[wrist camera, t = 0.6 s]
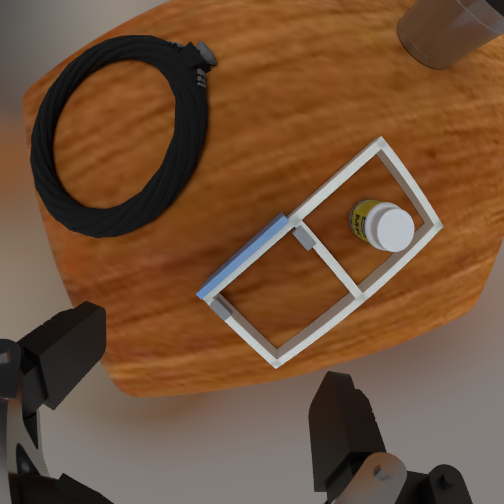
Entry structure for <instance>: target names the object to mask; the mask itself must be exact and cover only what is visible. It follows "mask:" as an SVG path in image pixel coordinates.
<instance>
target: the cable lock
mask: <svg viewBox="0 0 504 504" xmlns="http://www.w3.org/2000/svg"><path fill="white" fill-rule="evenodd" d="M126 58H132V59H139V60H142V61H145V62H148V63H150V64H153V65H154V66H156V67H157V68H158V69H159V70H160V71H161V72H162V73H163V75H164V76H165V77H166V78H167V80H168V82H169V84H170V87H171V89H172V92H173V94H174V96H175V100H176V105H175V130H174V135H173V138H172V140H171V143H170V145H169V148H168V150H167V153H166V155H165V158H164V160H163V163H162V165H161V167H160V168H159V170H158V171H157V172H156V173H155V174H154V176H153V177H152V178H151V180H150V181H149V182H148V183H147V185H146V186H145V187H144V188H143V190H142V191H141V192H140V193H138V194H137V195H135V196H134V197H132V198H130V199H129V200H127V201H126V202H124V203H123V204H121V205H119V206H116V207H112V208H108V209H103V210H102V209H94V208H85V207H83V206H82V205H80V204H78V203H77V202H75V201H73V200H72V199H71V198H70V197H69V196H68V195H67V194H66V193H65V191H64V190H63V189H62V187H61V186H60V184H59V182H58V179H57V177H56V174H55V172H54V168H53V160H52V135H53V132H54V127H55V123H56V119H57V116H58V113H59V111H60V110H61V108H62V106H63V104H64V103H65V101H66V99H67V97H68V96H69V94H70V93H71V91H72V90H73V89H74V88H75V87H76V86H77V85H78V84H79V83H80V82H81V81H82V80H83V79H84V78H85V77H86V76H87V75H88V74H90V73H91V72H92V71H93V70H95V69H96V68H98V67H100V66H102V65H105V64H107V63H110V62H113V61H116V60H121V59H126ZM209 64H211V65H216V58H215V57H214V55H213V53H212V52H211V50H210V49H209V48H208V46H207V45H206V44H205V43H203V42H201V41H199V42H198V45H197V47H195V46H194V45H193V44H192V42H191V41H190V42H189V43H188V44H187V45H186V46H183V45H181V44H178V43H175V42H171V41H165V40H162V39H159V38H157V37H154V36H151V35H128V36H119V37H115V38H111V39H108V40H105V41H103V42H101V43H99V44H97V45H95V46H93V47H91V48H90V49H88V50H86V51H85V52H84V53H83V54H81V55H80V56H78V57H77V58H76V59H74V60H73V61H72V62H71V63H69V64H68V65H67V66H66V68H65V69H64V70H63V72H62V73H61V74H60V75H59V77H58V78H57V79H56V81H55V82H54V83H53V84H52V86H51V87H50V88H49V90H48V92H47V94H46V96H45V97H44V99H43V102H42V104H41V106H40V108H39V111H38V115H37V117H36V121H35V124H34V128H33V132H32V135H31V156H30V162H31V167H32V172H33V176H34V181H35V187H36V189H37V191H38V193H39V195H40V197H41V199H42V201H43V202H44V204H45V206H46V208H47V210H48V211H49V213H50V214H51V215H52V216H53V217H54V218H55V219H56V220H57V221H59V222H61V223H62V224H63V225H64V226H65V227H66V228H68V229H69V230H71V231H74V232H78V233H81V234H84V235H86V236H91V237H95V238H101V237H116V236H119V235H122V234H125V233H128V232H131V231H133V230H135V229H137V228H139V227H141V226H143V225H145V224H147V223H149V222H151V221H153V220H154V219H155V218H156V217H157V216H158V215H159V214H160V213H161V212H162V211H163V210H164V209H165V208H167V207H168V206H169V205H170V204H171V203H172V202H173V200H174V199H175V198H176V196H177V195H178V193H179V192H180V191H181V189H182V188H183V187H184V185H185V183H186V181H187V180H188V178H189V176H190V175H191V173H192V171H193V170H194V168H195V167H196V164H197V160H198V157H199V153H200V149H201V146H202V144H203V141H204V136H205V131H206V127H207V111H208V104H207V99H206V94H205V92H206V75H205V73H207V72H209V71H211V70H210V68H209V66H208V65H209Z"/></svg>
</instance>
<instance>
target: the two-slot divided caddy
mask: <svg viewBox="0 0 504 504" xmlns="http://www.w3.org/2000/svg"><path fill="white" fill-rule="evenodd" d="M375 154H376V155H377V156H378V157H379V158H380V160H381V161H382V162H383V164H384V165H385V166H386V168H387V169H388V170H389V171H390V173H391V174H392V175H393V177H394V178H395V180H396V181H397V182H398V184H399V185H400V187H401V188H402V189H403V191H404V192H405V194H406V195H407V197H408V198H409V199H410V201H411V202H412V204H413V205H414V207H415V208H416V210H417V212H418V213H419V215H420V216H421V218H422V219H423V221H424V224H423V225H422V226H421V227H420V228H419V229H418V230H417V231H416V232H415V233H414V235H413V239H412V241H411V242H410V244H409V245H408V246H407V247H406V248H405V249H403V250H401V251H399V252H394V253H393V254H392V255H391V256H390V257H389V258H388V259H387V260H386V261H384V262H383V263H382V264H381V265H380V266H379V267H378V268H377V269H376V270H375V271H373V272H372V273H371V274H370V275H369V276H368V277H367V278H365V279H364V280H363V281H362V282H361V283H360V284H359V285H357V286H356V284H355V283H354V282H353V281H352V279H351V278H350V277H349V276H348V274H347V273H346V272H345V271H344V270H343V268H342V267H341V266H340V265H339V263H338V262H337V261H336V260H335V259H334V257H333V256H332V255H331V254H330V253H329V251H328V250H327V249H326V248H325V247H324V245H323V244H322V243H321V242H320V241H319V240H318V238H317V237H316V236H315V235H314V234H313V233H312V231H311V230H310V229H309V228H308V227H307V226H306V225H305V223H304V222H303V221H302V219H303V218H304V217H305V216H307V215H308V214H309V213H310V212H311V211H312V210H313V209H314V208H316V207H317V206H318V205H319V204H320V203H321V202H322V201H323V200H325V199H326V198H327V197H328V196H329V195H330V194H331V193H332V192H334V191H335V190H336V189H337V188H338V187H339V186H340V185H341V184H343V183H344V182H345V181H346V180H347V179H348V178H349V177H350V176H351V175H353V174H354V173H355V172H356V171H357V170H358V169H359V168H360V167H362V166H363V165H364V164H365V163H366V162H367V161H368V160H369V159H370V158H372V157H373V156H374V155H375ZM294 226H295V228H296V229H295V230H294V231H293V232H292V233H293V235H294V236H295V237H296V238H297V239H298V240H299V241H300V243H301V244H302V245H303V246H304V247H305V248H306V249H307V251H309V250H310V249H311V248H312V247H313V248H314V249H315V251H316V252H317V253H318V254H319V255H320V256H321V258H322V259H323V260H324V261H325V262H326V263H327V265H328V266H329V267H330V268H331V269H332V271H333V272H334V273H335V274H336V275H337V277H338V278H339V279H340V280H341V281H342V283H343V284H344V285H345V286H346V287H347V289H348V290H349V291H350V292H349V293H348V294H347V295H346V296H344V297H343V298H342V299H341V300H340V301H338V302H337V303H336V304H335V305H334V306H332V307H331V308H330V309H329V310H327V311H326V312H325V313H324V314H322V315H321V316H320V317H319V318H317V319H316V320H315V321H314V322H312V323H311V324H310V325H308V326H307V327H306V328H305V329H303V330H302V331H301V332H299V333H298V334H297V335H295V336H294V337H293V338H291V339H290V340H289V341H287V342H286V343H285V344H283V345H282V346H280V347H279V348H278V349H276V348H275V347H274V346H273V345H272V344H270V343H269V342H268V341H267V340H266V339H265V338H264V337H263V336H262V335H261V334H260V333H259V332H258V331H257V330H256V329H255V328H254V327H253V326H252V325H251V324H250V323H249V322H248V321H247V320H246V319H245V318H244V317H243V316H242V315H241V314H240V313H239V312H238V311H237V310H236V309H235V308H234V307H233V306H232V305H231V304H230V303H229V302H228V301H227V300H226V299H225V298H224V297H223V296H222V295H221V294H220V293H219V292H220V291H221V290H222V289H223V288H224V287H226V286H227V285H228V284H229V283H230V282H231V281H233V280H234V279H235V278H236V277H237V276H238V275H239V274H241V273H242V272H243V271H244V270H245V269H246V268H247V267H249V266H250V265H251V264H252V263H253V262H254V261H255V260H257V259H258V258H259V257H260V256H261V255H262V254H263V253H265V252H266V251H267V250H268V249H269V248H270V247H271V246H273V245H274V244H275V243H276V242H277V241H278V240H279V239H280V238H282V237H283V236H284V235H285V234H286V233H287V232H288V231H290V230H291V229H292V228H293V227H294ZM442 227H443V225H442V223H441V222H440V220H439V218H438V217H437V215H436V213H435V212H434V210H433V208H432V207H431V205H430V203H429V202H428V200H427V199H426V197H425V196H424V194H423V192H422V191H421V189H420V188H419V186H418V185H417V183H416V182H415V180H414V179H413V178H412V176H411V175H410V173H409V172H408V170H407V169H406V168H405V166H404V165H403V164H402V162H401V161H400V159H399V158H398V157H397V155H396V154H395V153H394V152H393V150H392V149H391V148H390V146H389V145H388V144H387V143H386V141H385V140H384V139H383V138H382V136H381V137H379V138H376V139H374V140H373V141H372V142H371V143H370V144H368V145H367V146H366V147H365V148H364V149H363V150H362V151H360V152H359V153H358V154H357V155H356V156H355V157H354V158H353V159H351V160H350V161H349V162H348V163H347V164H346V165H345V166H343V167H342V168H341V169H340V170H339V171H338V172H337V173H336V174H334V175H333V176H332V177H331V178H330V179H329V180H328V181H327V182H325V183H324V184H323V185H322V186H321V187H320V188H319V189H317V190H316V191H315V192H314V193H313V194H312V195H311V196H310V197H308V198H307V199H306V200H305V201H304V202H303V203H302V204H301V205H299V206H298V207H297V208H296V209H295V210H294V211H293V212H292V213H290V214H289V215H288V216H287V217H286V215H285V214H284V213H283V212H281V213H280V214H279V215H277V216H276V217H275V218H274V219H273V220H272V221H271V222H270V223H268V224H267V225H266V226H265V227H264V228H263V229H262V230H261V231H260V232H258V233H257V234H256V235H255V236H254V237H253V238H252V239H251V240H250V241H248V242H247V243H246V244H245V245H244V246H243V247H242V248H241V249H240V250H238V251H237V252H236V253H235V254H234V255H233V256H232V257H231V258H230V259H228V260H227V261H226V262H225V263H224V264H223V265H222V266H221V267H220V268H218V269H217V270H216V271H215V272H214V273H213V274H212V275H211V276H210V277H209V278H207V279H206V281H205V282H204V284H203V285H202V286H201V288H200V289H199V291H198V292H197V294H196V295H197V296H198V297H199V298H200V299H201V300H202V299H203V300H204V301H205V302H206V303H207V304H208V305H209V307H210V308H211V309H212V310H213V311H214V312H215V313H216V314H217V315H218V316H219V317H220V318H221V319H222V320H224V321H225V322H226V323H227V324H228V325H229V326H230V327H231V328H233V329H234V330H235V331H236V332H237V333H238V334H239V335H240V336H241V337H242V338H243V339H244V340H245V341H246V342H247V343H248V344H249V345H250V346H251V347H252V348H254V349H255V350H256V351H257V352H258V353H259V354H260V355H261V356H262V357H263V358H264V359H265V360H267V361H268V362H269V363H270V364H271V365H272V366H273V367H274V368H275V369H276V368H278V367H279V366H281V365H282V364H284V363H285V362H286V361H288V360H289V359H291V358H292V357H294V356H295V355H296V354H298V353H299V352H301V351H302V350H303V349H305V348H306V347H307V346H309V345H310V344H312V343H313V342H314V341H316V340H317V339H318V338H320V337H321V336H322V335H323V334H325V333H326V332H327V331H329V330H330V329H331V328H333V327H334V326H335V325H336V324H338V323H339V322H340V321H341V320H343V319H344V318H345V317H346V316H348V315H349V314H350V313H351V312H352V311H354V310H355V309H356V308H357V307H359V306H360V305H361V304H362V303H363V302H364V301H366V300H367V299H368V298H369V297H370V296H371V295H373V294H374V293H375V292H376V291H377V290H378V289H379V288H381V287H382V286H383V285H384V284H385V283H386V282H387V281H388V280H389V279H391V278H392V277H393V276H394V275H395V274H396V273H397V272H398V271H399V270H400V269H401V268H402V267H403V266H405V265H406V264H407V263H408V262H409V261H410V260H411V259H412V258H413V257H414V256H415V255H416V254H417V253H418V252H419V251H420V250H421V249H422V248H423V247H424V246H425V245H426V244H427V243H428V242H429V241H430V240H431V239H432V238H433V237H434V236H435V235H436V234H437V233H438V232H439V230H440V229H441V228H442Z"/></svg>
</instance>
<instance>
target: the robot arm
mask: <svg viewBox="0 0 504 504" xmlns="http://www.w3.org/2000/svg"><path fill="white" fill-rule="evenodd" d="M397 31H398V35H399V38H400V40H401V42H402V44H403V45H404V47H405V48H406V49H407V51H408V52H409V53H410V54H411V55H412V56H413V57H414V58H415V59H417V60H418V61H419V62H421V63H422V64H424V65H426V66H428V67H431V68H434V69H444V68H446V67H448V66H449V65H451V64H453V63H454V62H456V61H458V60H459V59H461V58H463V57H464V56H466V55H468V54H469V53H471V52H473V51H474V50H476V49H478V48H479V47H481V46H483V45H484V44H486V43H488V42H490V41H491V40H493V39H495V38H497V37H498V36H500V35H502V34H504V0H416V2H415V3H414V4H413V5H412V6H411V8H410V9H409V10H408V11H407V12H406V14H405V15H404V16H403V17H402V19H401V20H400V21H399V23H398V26H397ZM105 349H106V311H105V309H104V308H103V307H100V306H98V305H95V304H93V303H90V302H88V301H85V302H83V303H82V304H80V305H79V306H77V307H76V308H74V309H69V310H66V311H62V312H59V313H58V314H56V315H55V316H53V317H52V318H51V319H50V320H48V321H46V322H44V323H43V325H40V326H39V327H37V328H36V329H34V330H33V331H32V332H31V333H29V334H27V335H26V336H25V337H23V338H22V339H20V340H19V341H18V342H15V341H12V340H9V339H0V504H114V503H112V502H111V501H109V500H108V499H107V498H105V497H104V496H103V495H101V494H100V493H99V492H97V491H94V490H93V489H91V488H89V487H87V486H85V485H83V484H81V483H80V482H78V481H76V480H74V479H72V478H71V477H69V476H68V475H66V474H64V473H63V474H62V475H61V477H60V478H59V480H58V479H55V478H51V477H50V476H49V472H48V469H47V466H46V464H45V461H44V457H43V450H42V440H41V425H40V411H39V407H40V406H41V405H42V404H45V405H46V406H48V407H49V408H51V409H52V410H55V408H56V407H57V406H58V405H59V404H60V403H61V402H62V401H63V399H64V398H65V397H66V396H67V395H68V394H69V393H70V392H71V390H72V389H73V388H74V387H75V386H76V385H77V384H78V383H79V382H80V381H81V379H82V378H83V377H84V376H85V375H86V374H87V373H88V372H89V370H91V368H92V367H93V366H94V365H95V364H96V363H97V362H98V361H99V360H100V359H101V358H102V356H103V354H104V352H105ZM308 418H309V429H310V440H311V452H312V463H313V477H314V491H315V492H327V499H326V500H325V501H324V502H323V503H322V504H473V503H472V501H471V498H470V495H469V492H468V490H467V487H466V485H465V482H464V479H463V477H462V475H461V473H460V472H459V471H458V470H457V469H456V468H454V467H452V466H450V465H446V464H442V465H438V466H436V467H435V468H434V469H433V470H432V471H431V472H429V473H428V474H423V473H417V472H411V471H407V470H406V467H405V465H404V464H403V462H402V461H401V460H400V459H398V458H397V457H396V456H394V455H392V454H389V453H387V452H386V449H385V446H384V443H383V440H382V437H381V434H380V431H379V428H378V425H377V422H376V421H375V416H374V413H373V412H372V408H371V405H370V402H369V400H368V398H367V397H366V396H365V395H364V394H363V393H362V391H361V390H359V389H355V388H354V384H353V381H352V378H351V376H350V375H349V374H344V373H338V372H332V371H328V372H327V373H326V375H325V377H324V379H323V381H322V383H321V385H320V387H319V389H318V391H317V393H316V395H315V397H314V399H313V401H312V403H311V405H310V409H309V417H308Z"/></svg>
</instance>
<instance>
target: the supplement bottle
mask: <svg viewBox="0 0 504 504" xmlns="http://www.w3.org/2000/svg"><path fill="white" fill-rule="evenodd" d="M349 223H350V227H351V229H352V231H353V232H354V234H355V235H356V236H358V237H359V238H361V239H362V240H364V241H365V242H367V243H369V244H370V245H372V246H373V247H375V248H377V249H380V250H388V251H391V252H399V251H401V250H403V249H405V248H406V247H407V246H408V245H409V244H410V242H411V241H412V239H413V235H414V223H413V220H412V218H411V216H410V215H409V214H408V213H407V212H406V211H404V210H402V209H400V208H399V207H398V206H397V205H395V204H393V203H389V202H383V201H377V200H370V199H366V200H362V201H360V202H358V203H357V204H356V205H355V206H354V207H353V208H352V210H351V213H350V217H349Z"/></svg>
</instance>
